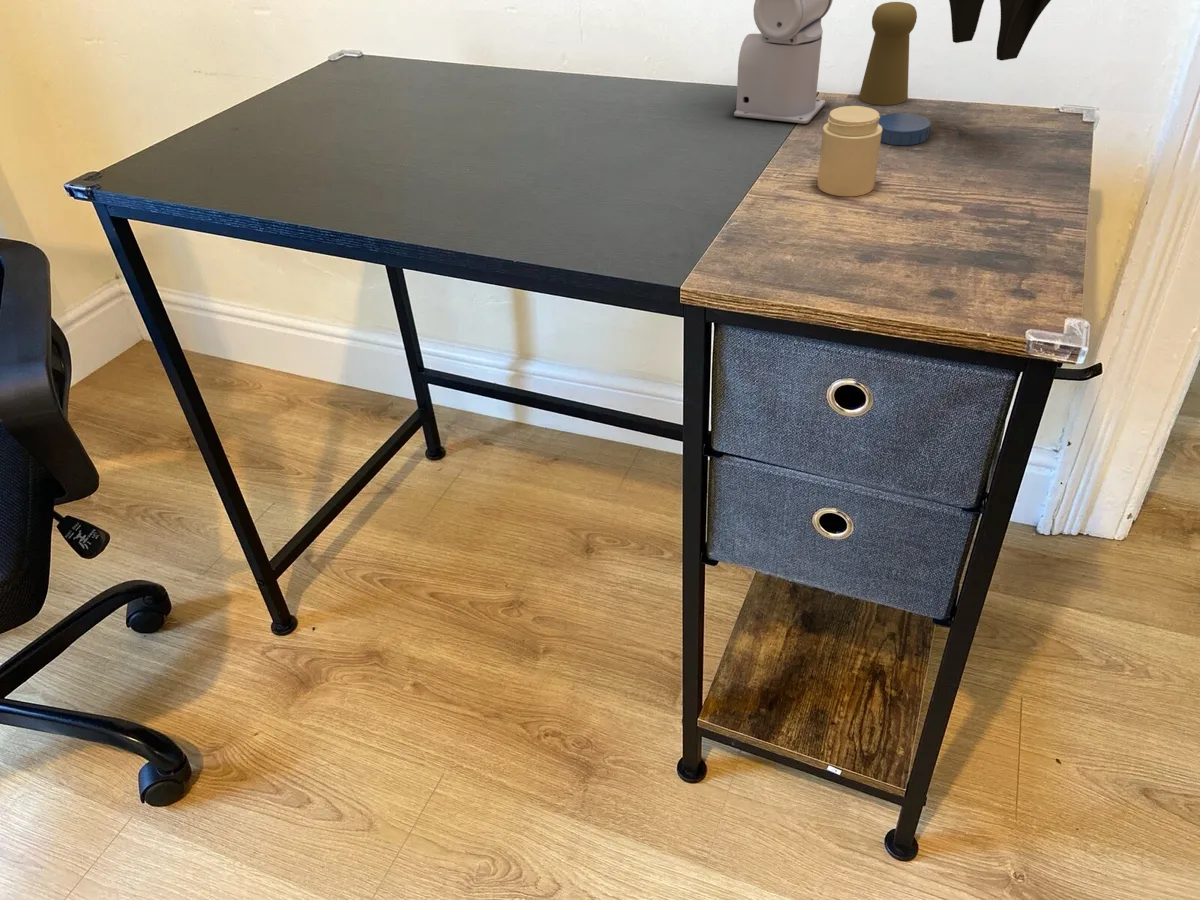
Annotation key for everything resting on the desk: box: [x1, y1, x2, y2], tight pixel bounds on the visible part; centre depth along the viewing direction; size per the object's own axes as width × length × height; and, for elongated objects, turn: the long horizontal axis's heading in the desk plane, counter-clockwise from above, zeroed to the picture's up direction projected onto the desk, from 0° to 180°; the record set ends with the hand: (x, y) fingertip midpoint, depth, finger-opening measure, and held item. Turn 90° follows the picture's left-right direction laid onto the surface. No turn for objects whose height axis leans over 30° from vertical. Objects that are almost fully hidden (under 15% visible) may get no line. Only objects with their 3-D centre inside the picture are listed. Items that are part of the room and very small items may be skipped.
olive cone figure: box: [858, 1, 918, 106], centre depth 109 cm, size 6×6×11 cm
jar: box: [816, 105, 882, 197], centre depth 89 cm, size 6×6×7 cm
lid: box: [878, 112, 931, 146], centre depth 101 cm, size 6×6×2 cm
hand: (983, 49), depth 94 cm, fingers open, 7 cm apart
